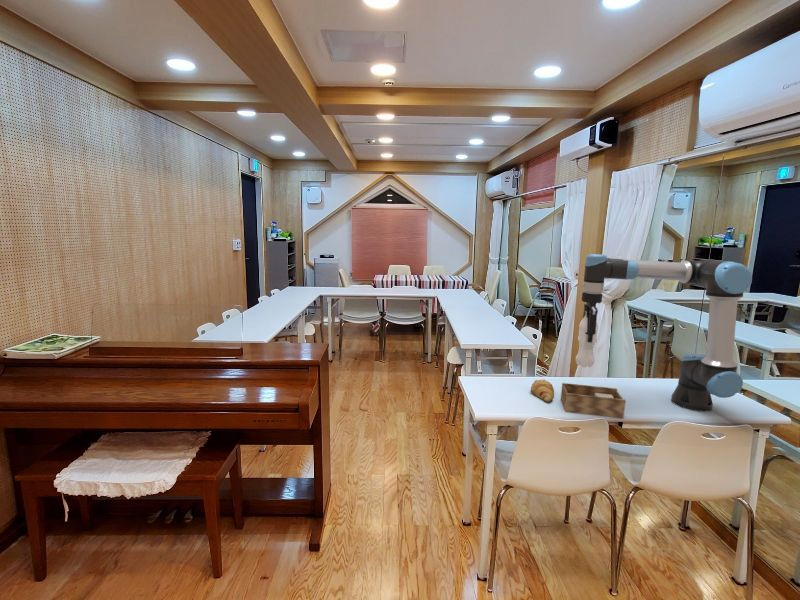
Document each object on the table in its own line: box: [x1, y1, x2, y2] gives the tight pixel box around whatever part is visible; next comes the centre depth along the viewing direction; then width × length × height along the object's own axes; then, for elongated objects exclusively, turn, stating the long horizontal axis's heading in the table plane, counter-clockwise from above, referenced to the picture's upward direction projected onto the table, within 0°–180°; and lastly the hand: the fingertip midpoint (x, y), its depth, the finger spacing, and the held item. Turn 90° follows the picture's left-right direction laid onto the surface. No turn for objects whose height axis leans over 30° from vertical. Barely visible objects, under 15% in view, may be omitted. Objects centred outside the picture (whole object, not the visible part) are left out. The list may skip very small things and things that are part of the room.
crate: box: [560, 382, 626, 420], centre depth 173 cm, size 22×13×9 cm, turn 76°
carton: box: [594, 393, 614, 398], centre depth 172 cm, size 7×10×5 cm
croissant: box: [530, 379, 555, 402], centre depth 190 cm, size 21×10×8 cm, turn 177°
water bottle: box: [575, 311, 599, 368], centre depth 170 cm, size 7×7×25 cm
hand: (586, 347), depth 171 cm, fingers closed on water bottle, 7 cm apart
